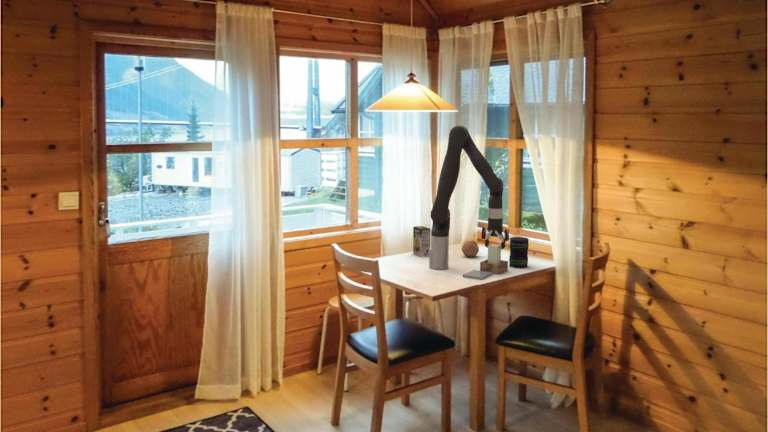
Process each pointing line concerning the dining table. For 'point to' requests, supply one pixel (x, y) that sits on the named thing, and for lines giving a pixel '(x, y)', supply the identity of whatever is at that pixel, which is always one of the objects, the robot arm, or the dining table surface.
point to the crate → (494, 267)
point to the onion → (470, 249)
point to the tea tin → (494, 254)
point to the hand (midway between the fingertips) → (494, 248)
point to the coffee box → (421, 241)
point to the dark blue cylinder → (518, 252)
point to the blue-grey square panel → (477, 274)
